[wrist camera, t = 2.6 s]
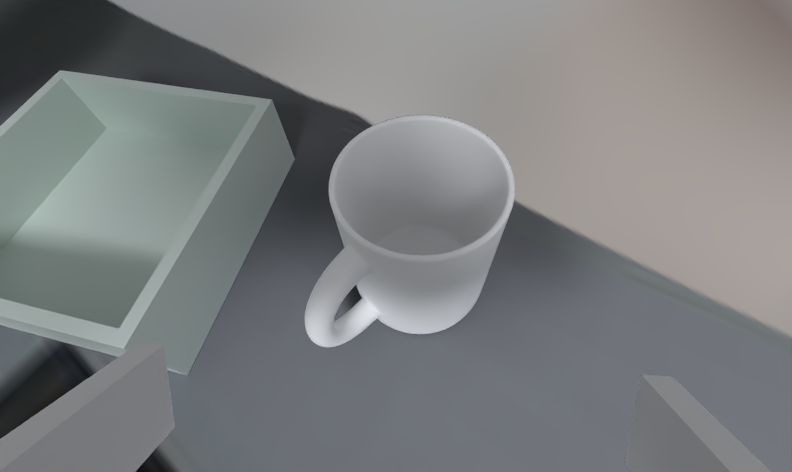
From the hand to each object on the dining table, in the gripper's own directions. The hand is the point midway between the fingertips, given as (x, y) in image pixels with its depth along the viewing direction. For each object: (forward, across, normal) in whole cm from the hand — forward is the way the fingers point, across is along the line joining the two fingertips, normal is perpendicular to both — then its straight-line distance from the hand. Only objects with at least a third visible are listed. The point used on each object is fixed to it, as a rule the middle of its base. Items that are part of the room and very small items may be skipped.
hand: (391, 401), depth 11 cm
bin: (+17, -20, 0) cm, 27 cm away
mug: (+14, -1, -3) cm, 15 cm away
